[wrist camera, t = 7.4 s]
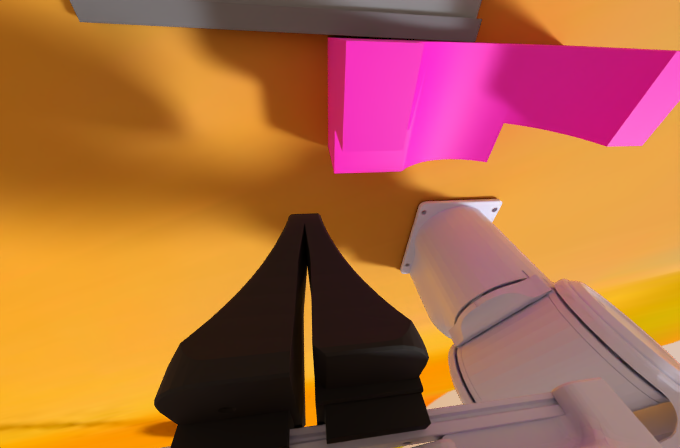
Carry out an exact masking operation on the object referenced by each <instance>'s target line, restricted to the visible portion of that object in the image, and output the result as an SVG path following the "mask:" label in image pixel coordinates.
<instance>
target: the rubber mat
mask: <svg viewBox="0 0 680 448" xmlns="http://www.w3.org/2000/svg"><path fill="white" fill-rule="evenodd" d="M481 1H482V0H70V2H71V4H72V6H73V8H74V11H75V13H76V15H77V17H78V19H79V21H80V22H91V23H111V24H130V25H150V26H169V27H189V28H208V29H228V30H247V31H267V32H286V33H306V34H325V35H345V36H364V37H384V38H404V39H423V40H443V41H462V42H475V41H476V37H477V34H478V31H479V28H480V25H481V21H482V19H476V18H477V15H478V11H479V8H480V5H481Z"/></svg>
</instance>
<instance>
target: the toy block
mask: <svg viewBox="0 0 680 448" xmlns="http://www.w3.org/2000/svg"><path fill="white" fill-rule="evenodd" d="M679 100H680V51H673V50H651V49H630V48H609V47H588V46H567V45H539V44H509V43H479V42H450V41H420V40H390V39H361V38H331V37H328V148H329V152H330V157H331V161H332V166H333V170H334V173H366V172H398V171H402V170H404V169H405V168H407V167H409V166H411V165H414V164H417V163H420V162H425V161H430V160H439V159H465V160H475V161H483V162H487V160H488V158H489V156H490V153H491V151H492V149H493V146H494V144H495V142H496V139H497V137H498V135H499V133H500V130H501V128H502V126H503V123H508V124H515V125H522V126H528V127H533V128H539V129H544V130H548V131H553V132H558V133H562V134H566V135H570V136H574V137H577V138H581V139H584V140H588V141H591V142H595V143H598V144H601V145H604V146H642V145H643V144H644V143H645V141H646V140H647V139H648V138H649V137H650V135H651V134H652V133H653V132H654V131H655V129H656V128H657V127H658V126H659V125H660V123H661V122H662V121H663V120H664V119H665V117H666V116H667V115H668V114H669V113H670V111H671V110H672V109H673V108H674V106H675V105H676V104H677V103H678V102H679Z"/></svg>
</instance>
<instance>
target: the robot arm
mask: <svg viewBox="0 0 680 448" xmlns="http://www.w3.org/2000/svg"><path fill="white" fill-rule="evenodd" d="M501 205H502V202H501V201H500V200H499V199H479V200H451V201H425V202H422V203H421V204H420V205H419V207H418V210H417V214H416V217H415V221H414V224H413V227H412V231H411V234H410V238H409V241H408V244H407V248H406V251H405V254H404V258H403V261H402V265H401V268H400V271H401V273H403V274H407V273H410V275H411V278H412V280H413V282H414V284H415V287H416V289H417V291H418V293H419V295H420V298H421V300H422V302H423V304H424V307H425V309H426V311H427V313H428V316H429V318H430V319H431V321H432V323H433V324H434V325H435V326H436V327H437V328H438V329H439V330H440V331H441V332H442V333H443V334H445V335H446V336H447V337H449V338H451V339H452V340H453V342H454V345H452V347H451V348H450V350H449V354H448V361H449V368H450V374H451V378H452V382H453V384H454V387H455V389H456V391H457V394H458V396H459V398H460V400H461V401H462V403H463V405H456V406H449V407H442V408H436V409H428V410H427V409H426V406H425V403H424V400H423V397H422V394H421V393H422V392H423V386H422V383H421V381H420V378H419V375H420V374H421V372H422V371H423V369H424V367H425V366H426V364H427V361H428V359H429V356H428V353H427V350H426V347H425V345H424V343H423V341H422V339H421V337H420V335H419V333H418V331H417V329H416V328H415V326H414V324H413V322H412V321H411V320H409V319H408V318H407V317H405V316H404V315H403V314H401V313H400V312H399V311H397V310H396V309H395V308H394V307H392V306H391V305H390V304H389V303H387V302H386V301H385V300H384V299H383V298H382V297H380V296H379V295H378V294H377V293H376V292H375V291H374V290H373V289H372V288H371V287H370V286H369V285H368V284H367V283H366V282H364V281H363V280H362V278H361V277H360V276H359V275H358V274H357V273H356V272H355V271H354V270H353V268H352V267H351V266H350V265H349V264H348V262H347V261H346V260H345V259H344V257H343V256H342V254H341V253H340V252H339V250H338V249H337V247H336V246H335V244H334V243H333V241H332V239H331V238H330V236H329V234H328V232H327V230H326V228H325V226H324V224H323V222H322V219H321V216H320V215H319V214H318V213H316V214H291V215H290V216H289V218H288V221H287V223H286V226H285V228H284V230H283V232H282V234H281V236H280V237H279V239H278V241H277V243H276V244H275V246H274V248H273V249H272V251H271V252H270V254H269V255H268V257H267V258H266V260H265V261H264V262H263V264H262V265H261V266H260V268H259V269H258V270H257V271H256V273H255V274H254V275H253V276H252V278H251V279H250V280H249V281H248V282H247V283H246V284H245V285H244V287H243V288H242V289H241V290H240V291H239V292H238V293H237V294H236V295H235V296H234V297H233V298H232V299H231V300H230V301H229V302H228V303H227V304H226V305H225V306H224V307H223V308H221V309H220V310H219V311H218V312H217V313H216V314H215V315H214V316H213V317H212V318H211V319H209V320H208V321H207V322H206V323H205V324H203V325H202V326H201V327H200V328H199V329H197V330H196V331H195V332H194V333H192V334H191V335H190V336H189V337H188V338H186V339H185V340H184V341H183V342H181V343H180V345H179V347H178V349H177V350H176V352H175V354H174V356H173V358H172V360H171V362H170V364H169V366H168V368H167V370H166V373H165V375H164V377H163V380H162V382H161V385H160V387H159V390H158V392H157V395H156V397H155V400H154V405H155V407H156V408H157V409H158V411H159V412H160V413H162V414H163V415H165V416H166V417H168V418H169V419H170V420H172V421H173V422H175V423H176V424H178V426H177V429H176V432H175V435H174V438H173V441H172V445H171V446H170V447H163V448H394V447H400V446H406V445H413V444H419V443H425V442H430V443H426V444H423V445H419V446H416V447H412V448H680V364H679V363H678V362H677V361H676V360H675V359H674V358H673V357H672V356H671V355H670V354H669V353H668V352H667V351H666V350H664V348H662V347H661V346H660V345H659V344H658V343H657V342H656V341H655V340H654V339H652V338H651V337H650V336H649V335H648V334H647V333H646V332H645V331H643V330H642V329H641V328H640V327H639V326H638V325H636V324H635V323H634V322H633V321H632V320H631V319H629V318H628V317H627V316H626V315H625V314H623V313H622V312H621V311H620V310H619V309H617V308H616V307H615V306H614V305H612V304H611V303H610V302H609V301H607V300H606V299H605V298H604V297H602V296H601V295H600V294H598V293H597V292H596V291H594V290H593V289H592V288H590V287H589V286H587V285H586V284H584V283H582V282H578V281H569V280H567V279H561V280H559V281H557V282H556V283H553V282H552V281H550V280H549V279H548V278H547V277H546V276H545V275H544V274H543V273H542V272H541V271H540V270H539V269H538V268H537V267H536V266H535V265H534V264H533V263H532V262H531V261H530V260H529V259H528V258H527V257H526V256H525V255H524V254H523V253H522V252H521V251H520V250H519V249H518V248H517V247H516V246H515V245H514V244H513V243H512V242H511V241H510V240H509V239H508V238H507V237H506V236H505V235H504V234H503V233H502V232H501V231H500V230H499V229H498V228H497V227H496V226H495V225H494V224H493V223H492V221H493V220H494V218H495V216H496V214H497V212H498V211H499V209H500V207H501ZM493 208H494V209H493ZM424 210H425V211H424ZM422 211H424V212H422ZM307 266H308V274H309V282H310V290H311V297H312V345H313V360H314V375H315V401H316V414H317V425H316V426H309V427H304V426H305V378H304V301H305V288H306V276H307ZM431 441H434V442H431Z"/></svg>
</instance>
